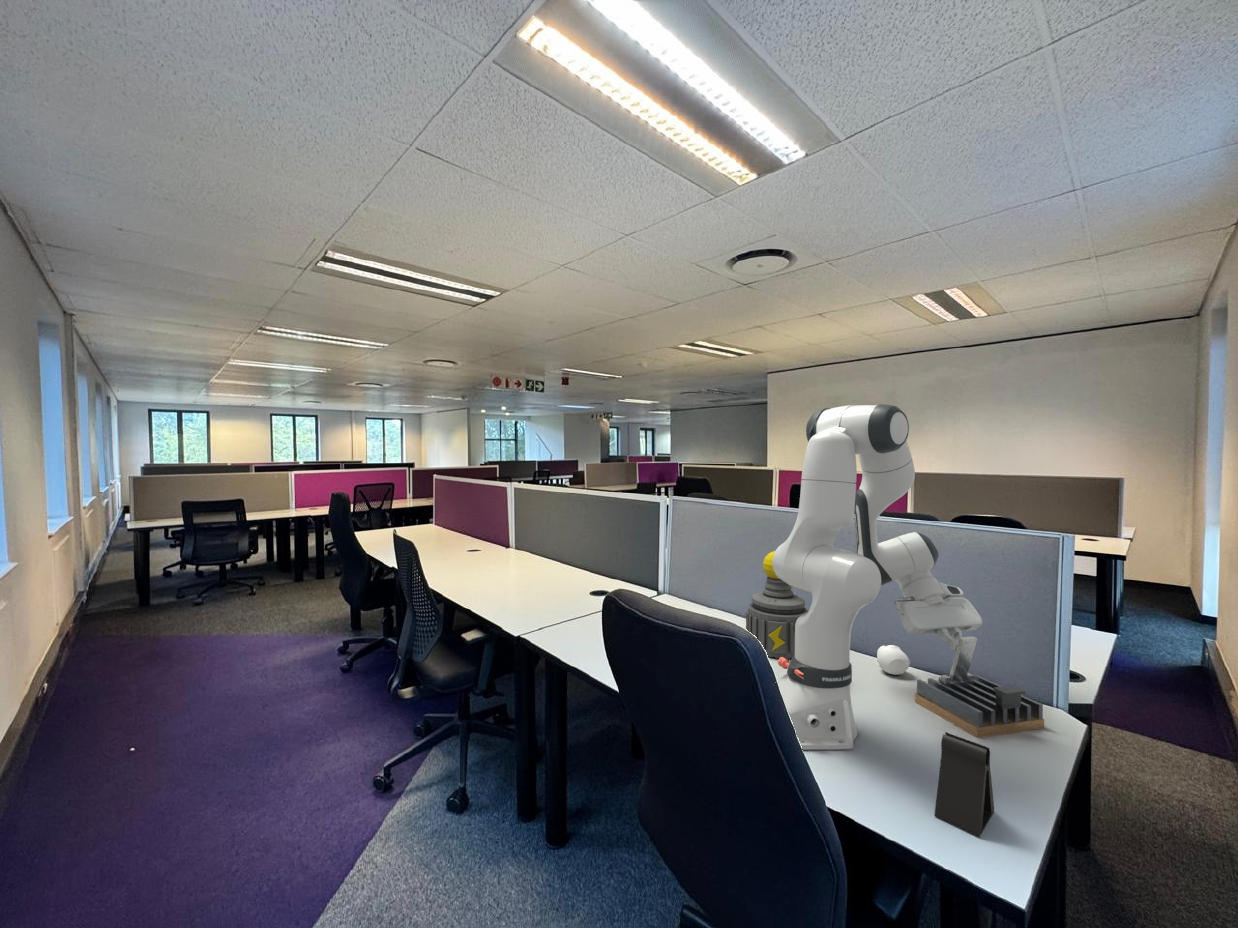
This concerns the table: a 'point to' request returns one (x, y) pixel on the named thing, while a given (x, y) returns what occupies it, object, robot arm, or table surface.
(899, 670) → the motion sensor
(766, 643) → the tesla coil
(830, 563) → the robot arm
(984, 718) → the heat sink
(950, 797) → the black coffee bag
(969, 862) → the table surface
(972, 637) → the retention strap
